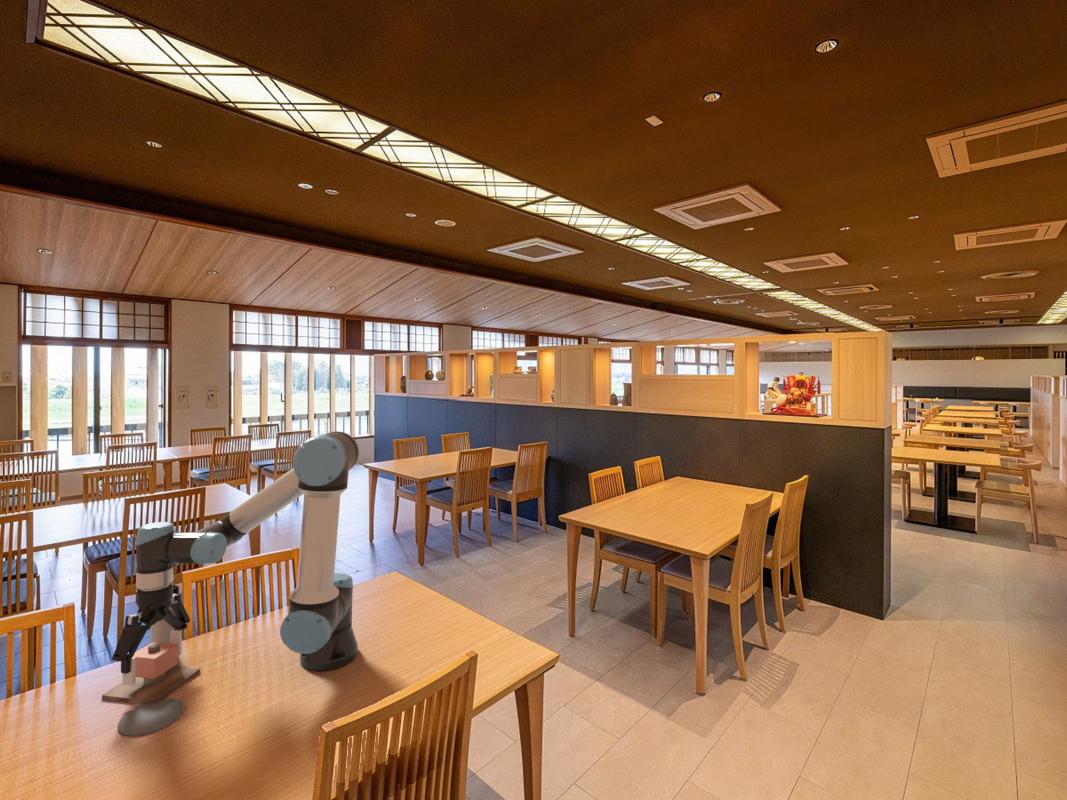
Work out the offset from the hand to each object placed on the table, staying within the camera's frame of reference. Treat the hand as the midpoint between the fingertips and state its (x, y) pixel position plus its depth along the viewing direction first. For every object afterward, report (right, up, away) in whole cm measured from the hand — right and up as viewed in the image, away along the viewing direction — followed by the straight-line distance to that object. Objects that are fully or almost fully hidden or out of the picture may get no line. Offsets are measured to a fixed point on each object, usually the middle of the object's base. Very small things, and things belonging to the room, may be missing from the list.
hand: (153, 668), depth 127 cm
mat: (+9, -5, -12) cm, 15 cm away
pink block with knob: (0, 0, 0) cm, 0 cm away
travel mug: (-6, -4, +12) cm, 14 cm away
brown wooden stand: (0, -4, 0) cm, 4 cm away
